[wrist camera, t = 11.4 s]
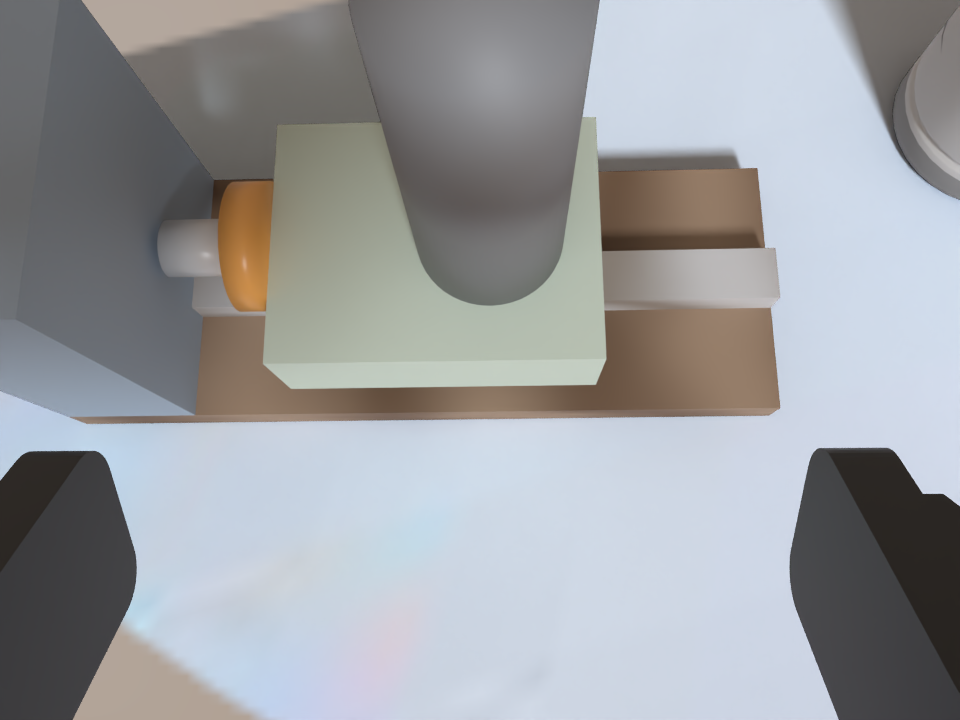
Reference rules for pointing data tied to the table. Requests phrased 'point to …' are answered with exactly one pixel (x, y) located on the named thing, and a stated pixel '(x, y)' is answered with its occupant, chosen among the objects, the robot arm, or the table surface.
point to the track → (628, 323)
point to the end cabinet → (90, 224)
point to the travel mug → (933, 111)
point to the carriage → (445, 208)
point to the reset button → (225, 244)
